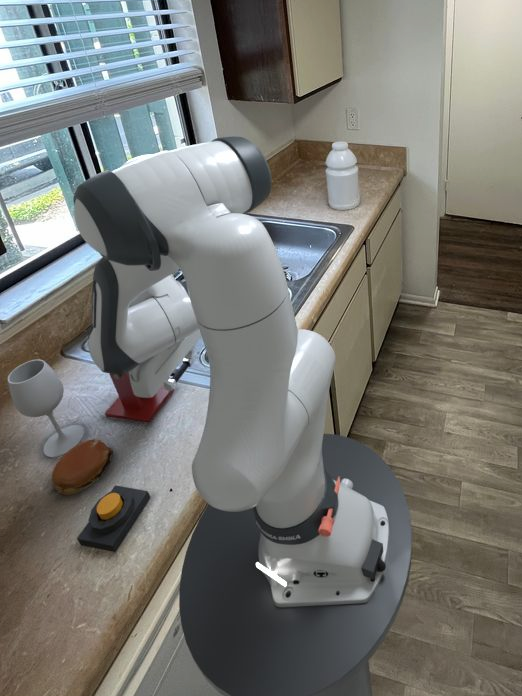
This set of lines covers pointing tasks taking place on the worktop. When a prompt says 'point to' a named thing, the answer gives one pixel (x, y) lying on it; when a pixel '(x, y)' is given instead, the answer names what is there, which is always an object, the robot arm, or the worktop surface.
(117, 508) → the button
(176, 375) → the lever
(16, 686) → the worktop surface
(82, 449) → the burger
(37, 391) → the wineglass
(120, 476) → the worktop surface
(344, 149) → the bottle
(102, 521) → the button box
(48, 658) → the worktop surface
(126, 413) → the bracket
